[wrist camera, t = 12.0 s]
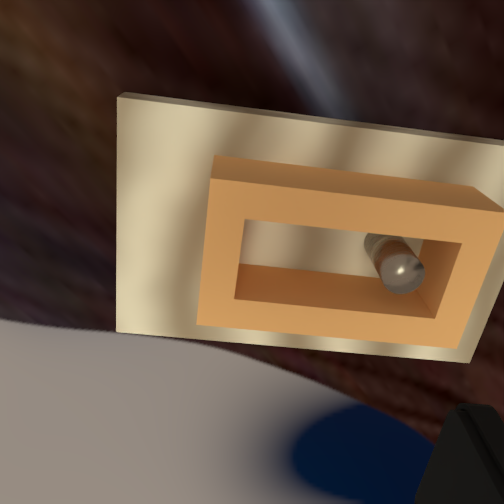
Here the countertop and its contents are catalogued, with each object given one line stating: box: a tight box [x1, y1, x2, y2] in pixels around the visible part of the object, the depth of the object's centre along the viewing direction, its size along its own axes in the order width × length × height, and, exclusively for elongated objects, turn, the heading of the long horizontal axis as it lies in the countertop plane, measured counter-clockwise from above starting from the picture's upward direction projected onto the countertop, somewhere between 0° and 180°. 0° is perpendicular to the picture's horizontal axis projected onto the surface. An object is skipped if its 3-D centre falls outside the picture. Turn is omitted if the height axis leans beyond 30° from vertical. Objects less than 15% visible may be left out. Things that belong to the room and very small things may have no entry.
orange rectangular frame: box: [196, 155, 504, 349], centre depth 29 cm, size 16×9×4 cm, turn 83°
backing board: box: [116, 92, 504, 363], centre depth 32 cm, size 26×16×2 cm, turn 83°
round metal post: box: [364, 233, 425, 294], centre depth 29 cm, size 2×2×4 cm
